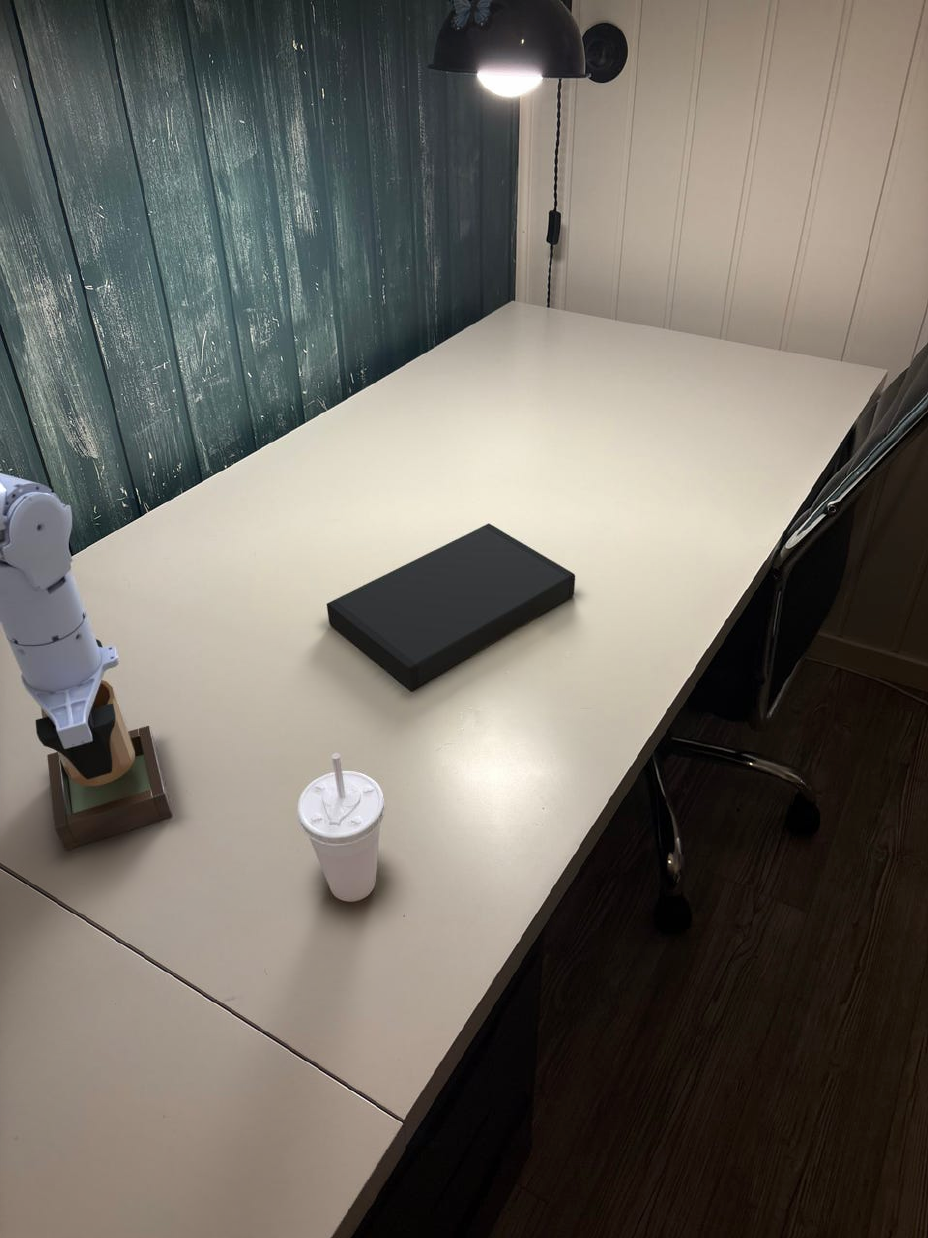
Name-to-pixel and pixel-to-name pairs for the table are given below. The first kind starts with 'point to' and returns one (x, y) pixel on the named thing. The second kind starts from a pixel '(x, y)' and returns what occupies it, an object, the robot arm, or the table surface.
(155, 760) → the cup holder
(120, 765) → the paper cup
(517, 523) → the table surface
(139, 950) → the table surface
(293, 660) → the table surface
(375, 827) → the smoothie
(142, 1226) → the table surface
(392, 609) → the external hard drive
